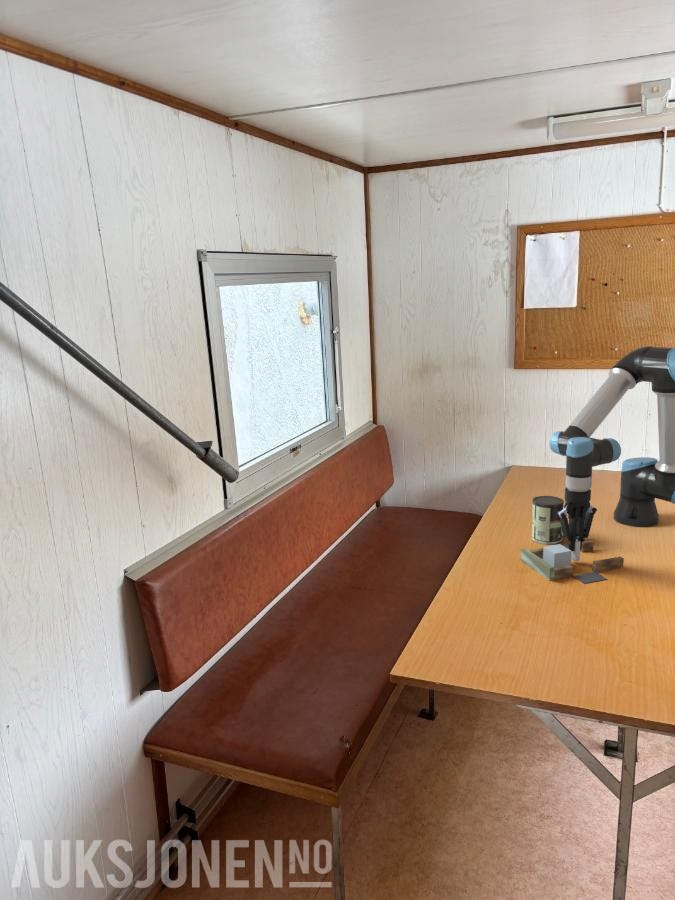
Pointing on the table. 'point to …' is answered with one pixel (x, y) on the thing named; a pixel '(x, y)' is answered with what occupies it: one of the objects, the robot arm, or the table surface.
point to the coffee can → (546, 519)
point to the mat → (589, 577)
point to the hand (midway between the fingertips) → (574, 559)
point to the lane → (548, 571)
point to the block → (557, 555)
